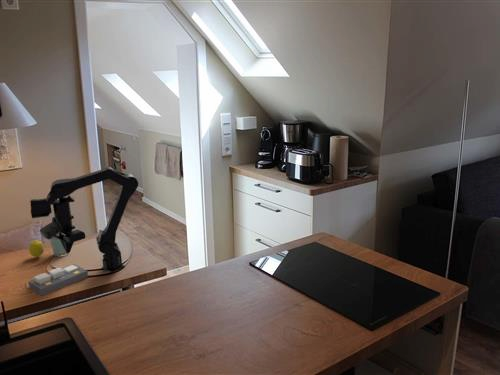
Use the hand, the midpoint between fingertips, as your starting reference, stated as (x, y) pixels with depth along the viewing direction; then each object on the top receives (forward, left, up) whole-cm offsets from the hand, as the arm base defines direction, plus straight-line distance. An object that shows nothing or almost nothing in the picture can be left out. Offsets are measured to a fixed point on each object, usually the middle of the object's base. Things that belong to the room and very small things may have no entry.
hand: (68, 252), depth 167 cm
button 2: (0, 0, -8) cm, 8 cm away
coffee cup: (-8, -23, -10) cm, 26 cm away
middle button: (+5, 0, -7) cm, 9 cm away
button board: (+5, +1, -10) cm, 11 cm away
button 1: (+11, 0, -7) cm, 13 cm away
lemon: (0, -28, -10) cm, 30 cm away
